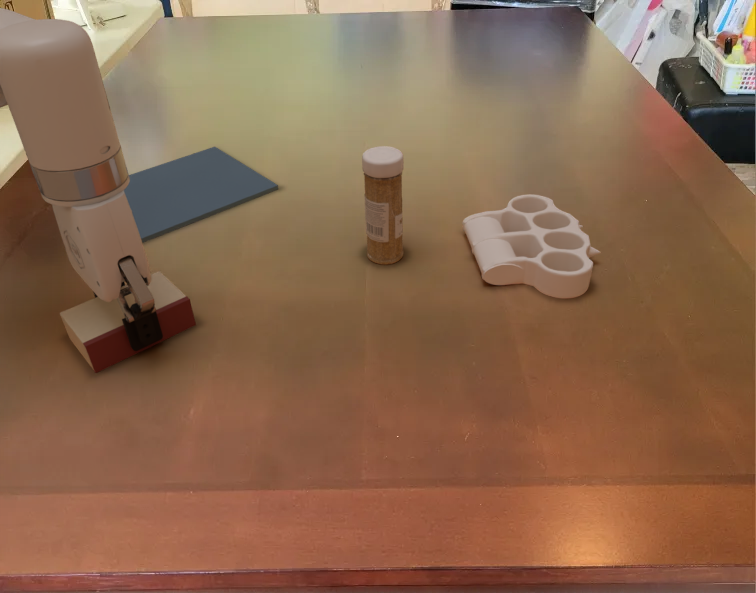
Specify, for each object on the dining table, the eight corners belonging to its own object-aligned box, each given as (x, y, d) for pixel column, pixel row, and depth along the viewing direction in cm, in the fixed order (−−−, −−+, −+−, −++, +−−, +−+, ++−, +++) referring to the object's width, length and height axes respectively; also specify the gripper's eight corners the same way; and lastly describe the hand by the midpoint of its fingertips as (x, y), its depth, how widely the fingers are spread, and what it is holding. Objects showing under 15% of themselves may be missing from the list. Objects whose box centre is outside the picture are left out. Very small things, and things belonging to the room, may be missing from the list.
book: (95, 373, 64) (85, 346, 62) (69, 338, 69) (58, 312, 67) (196, 325, 70) (189, 298, 68) (166, 296, 74) (159, 270, 72)
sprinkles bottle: (410, 257, 79) (411, 154, 71) (380, 270, 77) (377, 166, 69) (388, 241, 82) (387, 140, 74) (358, 253, 80) (353, 151, 72)
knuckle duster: (456, 221, 86) (565, 213, 87) (489, 306, 71) (619, 295, 72) (457, 199, 84) (569, 190, 85) (491, 281, 69) (625, 270, 70)
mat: (118, 253, 82) (116, 247, 81) (65, 201, 93) (64, 196, 92) (278, 190, 94) (278, 185, 93) (215, 151, 105) (214, 146, 104)
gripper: (7, 153, 61) (65, 302, 72) (76, 224, 51) (132, 386, 62) (85, 130, 65) (130, 275, 76) (165, 192, 55) (204, 350, 65)
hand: (131, 324), depth 69 cm, fingers closed on book, 7 cm apart
